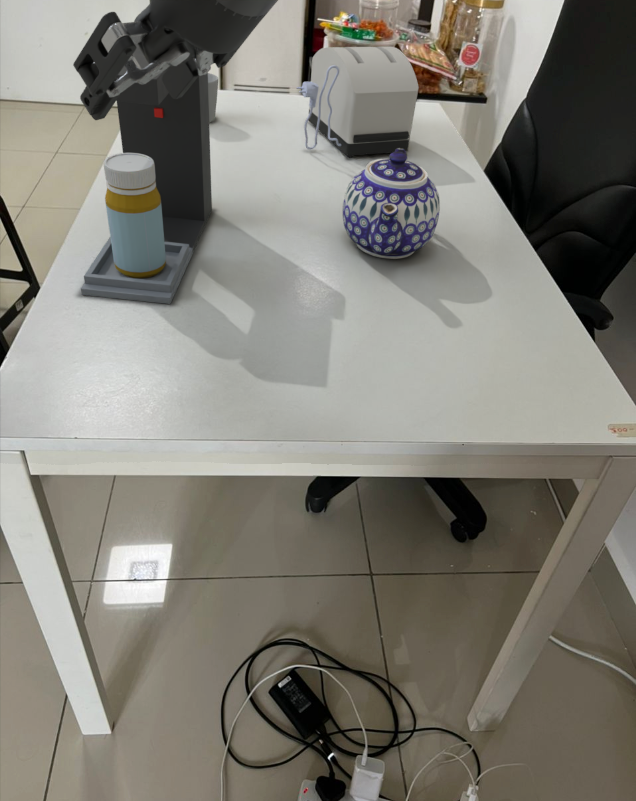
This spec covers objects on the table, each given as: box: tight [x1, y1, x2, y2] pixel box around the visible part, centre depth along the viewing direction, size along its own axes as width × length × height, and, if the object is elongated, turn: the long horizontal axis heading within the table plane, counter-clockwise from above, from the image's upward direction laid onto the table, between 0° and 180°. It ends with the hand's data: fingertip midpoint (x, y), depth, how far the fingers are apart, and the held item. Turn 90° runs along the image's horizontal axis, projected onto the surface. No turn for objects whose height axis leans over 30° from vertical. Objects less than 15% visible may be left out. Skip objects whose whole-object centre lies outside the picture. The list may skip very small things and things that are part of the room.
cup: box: [208, 72, 219, 124], centre depth 137 cm, size 8×10×8 cm
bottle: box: [103, 152, 166, 278], centre depth 86 cm, size 7×7×15 cm
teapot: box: [342, 148, 441, 260], centre depth 99 cm, size 25×15×15 cm, turn 167°
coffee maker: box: [80, 43, 213, 305], centre depth 89 cm, size 29×12×26 cm, turn 176°
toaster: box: [296, 45, 419, 158], centre depth 132 cm, size 23×25×17 cm
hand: (132, 98), depth 55 cm, fingers open, 8 cm apart
